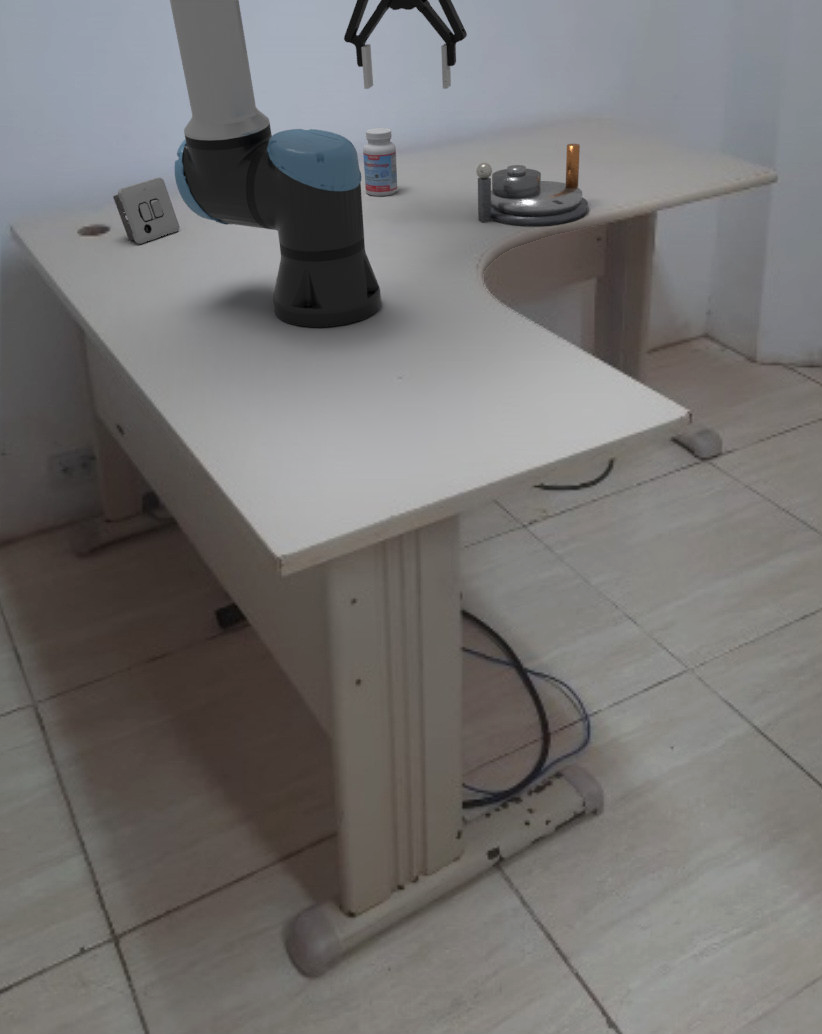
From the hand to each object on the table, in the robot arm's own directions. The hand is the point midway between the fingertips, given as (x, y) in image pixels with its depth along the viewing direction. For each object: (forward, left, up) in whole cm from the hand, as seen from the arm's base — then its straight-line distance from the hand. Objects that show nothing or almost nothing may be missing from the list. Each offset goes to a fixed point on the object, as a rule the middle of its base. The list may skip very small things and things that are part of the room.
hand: (407, 87), depth 178 cm
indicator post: (-13, -7, -21) cm, 26 cm away
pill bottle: (+14, 0, -21) cm, 25 cm away
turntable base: (-13, -17, -21) cm, 30 cm away
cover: (-10, -15, -18) cm, 25 cm away
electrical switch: (+13, +45, -21) cm, 51 cm away
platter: (-13, -18, -19) cm, 29 cm away
